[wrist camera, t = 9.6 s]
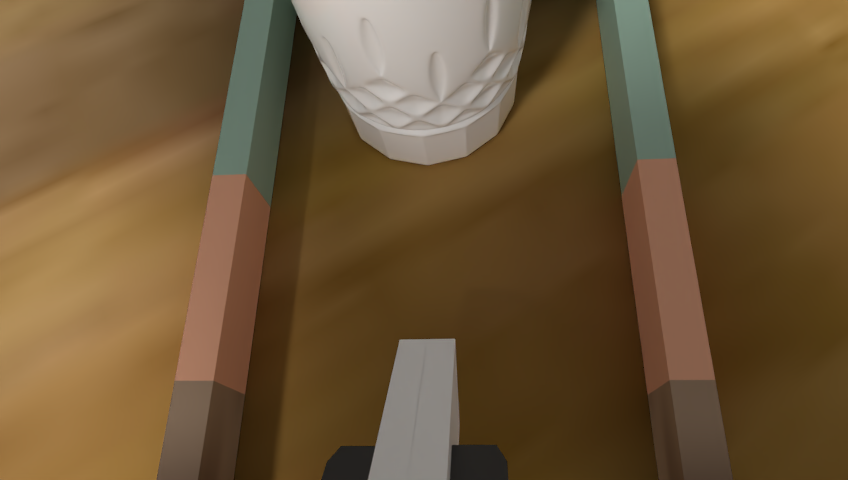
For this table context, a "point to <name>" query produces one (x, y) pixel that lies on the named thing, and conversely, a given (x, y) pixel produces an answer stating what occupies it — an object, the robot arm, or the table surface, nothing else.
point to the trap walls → (648, 250)
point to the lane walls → (223, 407)
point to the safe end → (270, 61)
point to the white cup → (421, 69)
